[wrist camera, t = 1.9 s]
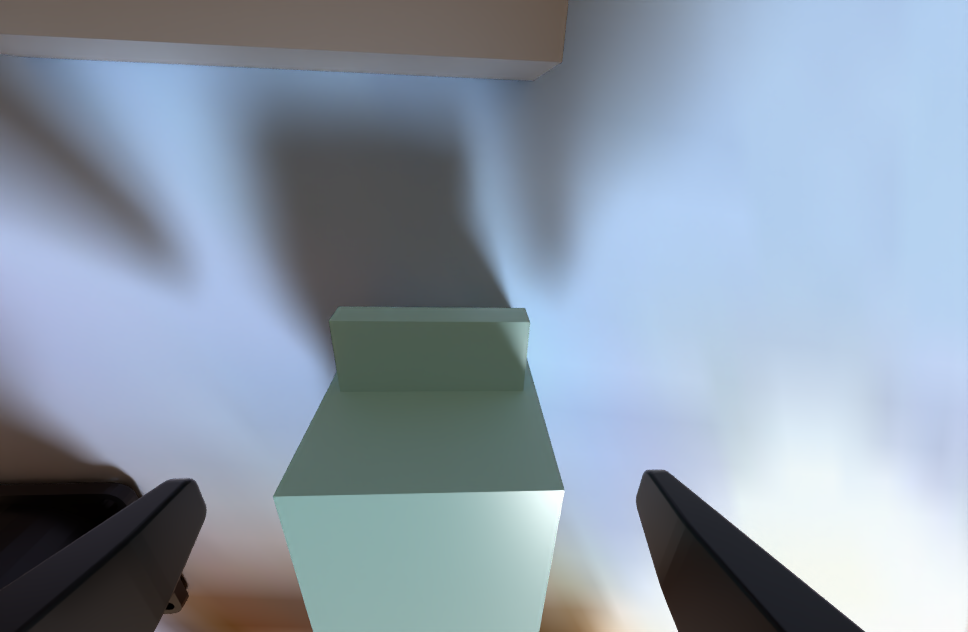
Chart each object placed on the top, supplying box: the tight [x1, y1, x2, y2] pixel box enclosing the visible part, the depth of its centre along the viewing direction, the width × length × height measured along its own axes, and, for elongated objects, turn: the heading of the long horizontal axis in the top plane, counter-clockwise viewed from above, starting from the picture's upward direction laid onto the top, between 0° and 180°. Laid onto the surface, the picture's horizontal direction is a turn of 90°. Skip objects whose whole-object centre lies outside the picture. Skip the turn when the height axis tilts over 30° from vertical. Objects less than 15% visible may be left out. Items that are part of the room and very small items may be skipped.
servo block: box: [273, 306, 564, 632], centre depth 9 cm, size 4×7×6 cm, turn 178°
